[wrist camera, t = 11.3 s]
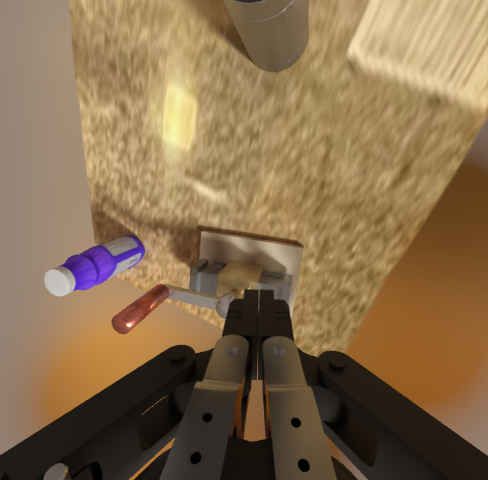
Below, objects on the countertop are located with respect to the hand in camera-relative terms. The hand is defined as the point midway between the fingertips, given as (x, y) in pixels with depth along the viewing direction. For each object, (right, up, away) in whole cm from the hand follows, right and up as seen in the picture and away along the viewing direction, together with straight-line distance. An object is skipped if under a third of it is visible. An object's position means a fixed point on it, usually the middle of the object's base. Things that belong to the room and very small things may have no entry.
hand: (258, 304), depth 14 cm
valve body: (0, -3, +34) cm, 34 cm away
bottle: (-23, +1, +40) cm, 46 cm away
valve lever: (-7, -5, +25) cm, 27 cm away
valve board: (0, -3, +36) cm, 36 cm away
